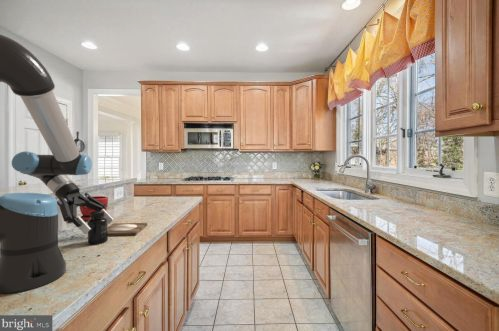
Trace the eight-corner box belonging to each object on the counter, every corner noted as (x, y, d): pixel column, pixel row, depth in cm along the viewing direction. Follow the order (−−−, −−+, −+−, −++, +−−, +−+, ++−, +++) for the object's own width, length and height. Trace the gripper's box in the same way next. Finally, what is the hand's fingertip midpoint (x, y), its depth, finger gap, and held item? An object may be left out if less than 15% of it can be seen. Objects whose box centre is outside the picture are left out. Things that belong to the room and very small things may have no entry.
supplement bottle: (105, 237, 100) (105, 209, 99) (109, 242, 95) (109, 212, 95) (85, 241, 95) (85, 211, 95) (89, 246, 90) (89, 214, 90)
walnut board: (135, 235, 103) (135, 232, 103) (96, 236, 101) (96, 233, 101) (147, 225, 119) (147, 222, 119) (113, 226, 117) (113, 223, 117)
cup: (55, 232, 106) (55, 206, 106) (41, 231, 108) (41, 205, 107) (72, 227, 114) (72, 202, 114) (58, 226, 115) (58, 202, 115)
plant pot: (103, 221, 127) (103, 198, 126) (75, 222, 123) (75, 199, 123) (111, 215, 139) (110, 195, 139) (85, 216, 136) (85, 195, 136)
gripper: (81, 190, 108) (113, 224, 108) (27, 200, 83) (68, 243, 83) (92, 179, 108) (124, 212, 108) (41, 185, 83) (83, 229, 83)
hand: (100, 226), depth 95 cm, fingers open, 13 cm apart
